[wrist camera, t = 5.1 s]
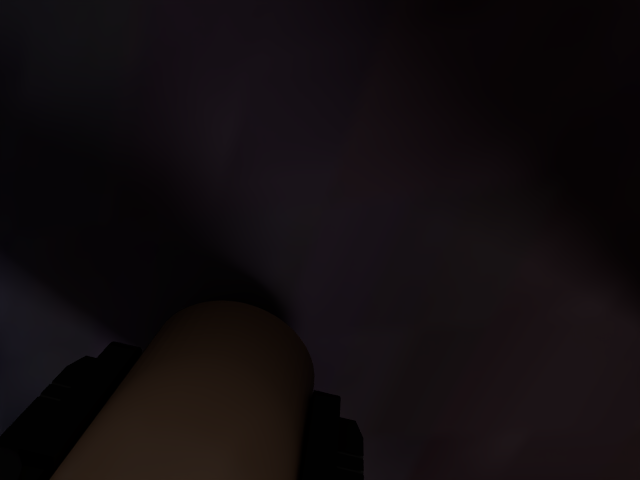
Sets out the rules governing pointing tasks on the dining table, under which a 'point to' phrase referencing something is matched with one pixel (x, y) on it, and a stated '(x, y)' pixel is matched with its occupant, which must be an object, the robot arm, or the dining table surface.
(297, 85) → the dining table surface
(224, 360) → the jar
